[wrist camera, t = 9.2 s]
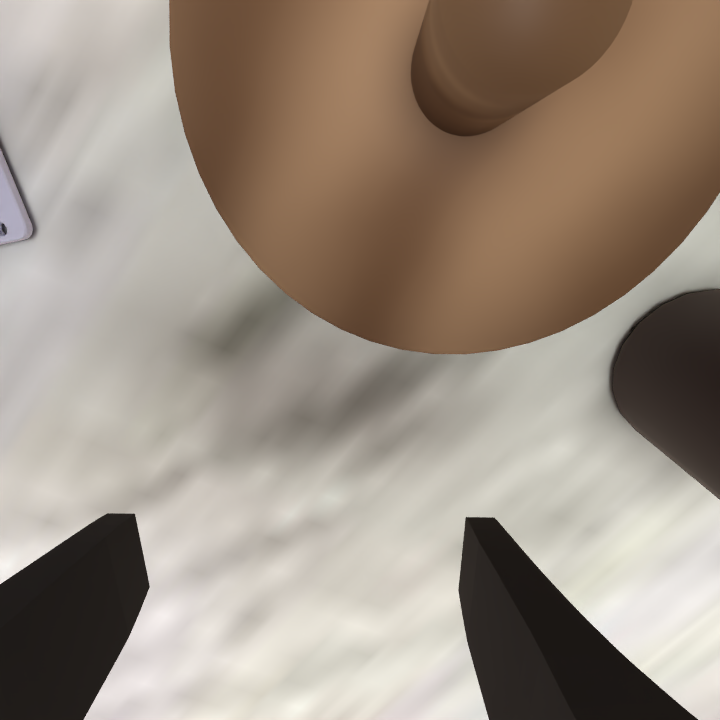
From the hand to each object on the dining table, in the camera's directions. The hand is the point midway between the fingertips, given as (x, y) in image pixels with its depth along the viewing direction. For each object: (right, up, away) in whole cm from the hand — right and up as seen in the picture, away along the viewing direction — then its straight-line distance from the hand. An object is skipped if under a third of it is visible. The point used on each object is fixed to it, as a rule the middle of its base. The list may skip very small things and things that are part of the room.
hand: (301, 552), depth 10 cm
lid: (+4, +12, +2) cm, 13 cm away
